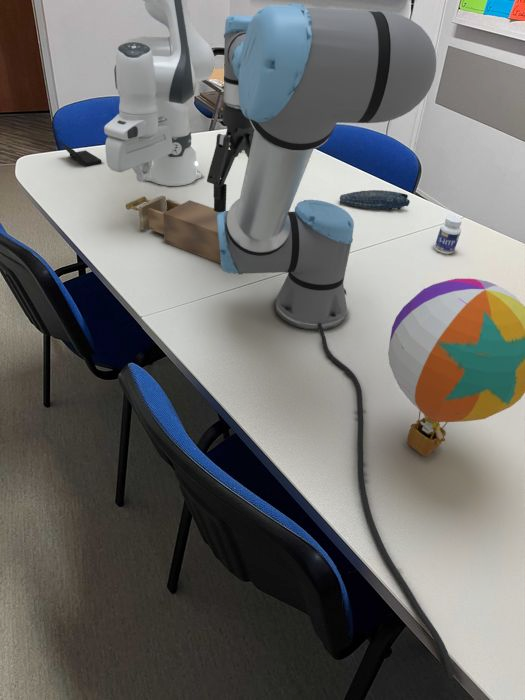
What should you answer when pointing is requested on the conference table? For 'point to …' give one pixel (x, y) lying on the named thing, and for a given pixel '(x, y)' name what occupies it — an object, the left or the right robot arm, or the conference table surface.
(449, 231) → the pill bottle
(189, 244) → the cabinet
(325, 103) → the right robot arm
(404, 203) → the fish model
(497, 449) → the conference table surface
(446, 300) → the toy
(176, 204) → the drawer
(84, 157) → the black handled piece
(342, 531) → the conference table surface
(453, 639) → the conference table surface
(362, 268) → the conference table surface
